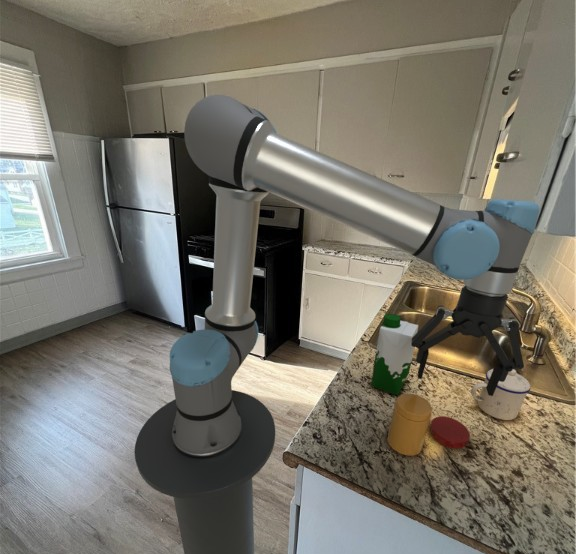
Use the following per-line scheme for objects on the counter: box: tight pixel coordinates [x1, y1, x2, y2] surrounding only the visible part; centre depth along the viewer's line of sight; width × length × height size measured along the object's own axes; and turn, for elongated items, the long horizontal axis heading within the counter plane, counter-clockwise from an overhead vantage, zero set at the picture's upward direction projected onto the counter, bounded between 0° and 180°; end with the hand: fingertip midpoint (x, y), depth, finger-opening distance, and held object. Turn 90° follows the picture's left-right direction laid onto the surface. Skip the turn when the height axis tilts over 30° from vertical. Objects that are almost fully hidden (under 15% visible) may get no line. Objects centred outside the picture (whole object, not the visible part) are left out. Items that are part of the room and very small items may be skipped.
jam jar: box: [386, 393, 433, 457], centre depth 66 cm, size 7×7×11 cm
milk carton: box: [371, 313, 419, 396], centre depth 82 cm, size 9×9×20 cm
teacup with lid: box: [470, 368, 531, 421], centre depth 76 cm, size 12×9×12 cm
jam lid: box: [428, 415, 471, 450], centre depth 70 cm, size 8×8×2 cm
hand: (453, 383), depth 67 cm, fingers open, 13 cm apart
